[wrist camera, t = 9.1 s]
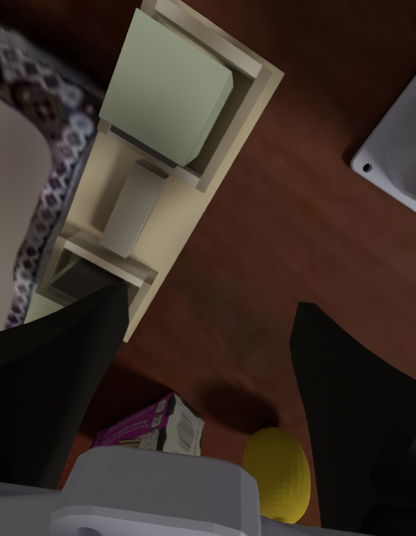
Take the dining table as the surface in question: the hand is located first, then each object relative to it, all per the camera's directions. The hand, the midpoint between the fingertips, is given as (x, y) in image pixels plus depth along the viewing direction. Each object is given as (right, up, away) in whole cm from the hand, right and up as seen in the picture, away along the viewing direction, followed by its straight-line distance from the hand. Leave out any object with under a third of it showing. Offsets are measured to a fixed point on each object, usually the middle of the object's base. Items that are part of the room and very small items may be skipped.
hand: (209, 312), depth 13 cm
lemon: (+6, -13, +16) cm, 22 cm away
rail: (-5, +6, +8) cm, 11 cm away
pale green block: (-1, +11, +5) cm, 12 cm away
